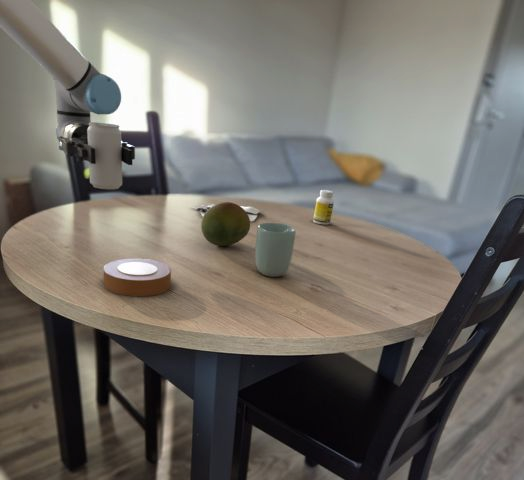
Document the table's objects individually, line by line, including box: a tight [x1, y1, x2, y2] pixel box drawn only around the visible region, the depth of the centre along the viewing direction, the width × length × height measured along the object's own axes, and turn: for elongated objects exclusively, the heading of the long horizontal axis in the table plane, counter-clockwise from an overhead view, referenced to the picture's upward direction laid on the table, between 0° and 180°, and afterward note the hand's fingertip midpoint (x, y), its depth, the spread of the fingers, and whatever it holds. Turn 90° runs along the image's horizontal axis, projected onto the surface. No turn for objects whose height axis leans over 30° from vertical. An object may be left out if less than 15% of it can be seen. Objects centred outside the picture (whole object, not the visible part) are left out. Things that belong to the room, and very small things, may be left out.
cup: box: [254, 222, 296, 278], centre depth 101 cm, size 8×8×10 cm
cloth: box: [193, 203, 261, 222], centre depth 149 cm, size 20×22×2 cm
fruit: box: [200, 201, 251, 247], centre depth 116 cm, size 12×13×10 cm
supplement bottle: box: [312, 189, 335, 226], centre depth 150 cm, size 5×5×10 cm
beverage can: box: [87, 121, 123, 190], centre depth 97 cm, size 6×6×12 cm
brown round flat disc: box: [102, 258, 172, 297], centre depth 89 cm, size 12×12×3 cm
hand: (112, 157), depth 93 cm, fingers closed on beverage can, 6 cm apart
